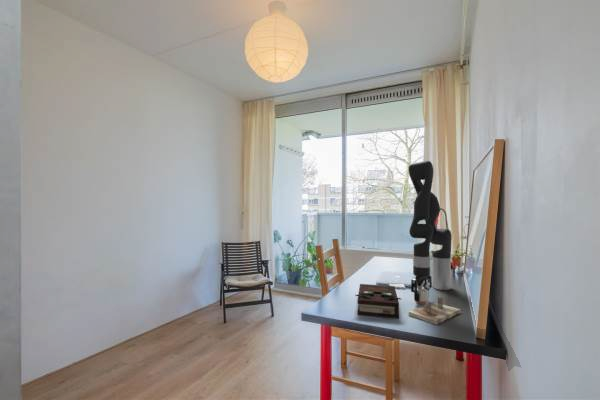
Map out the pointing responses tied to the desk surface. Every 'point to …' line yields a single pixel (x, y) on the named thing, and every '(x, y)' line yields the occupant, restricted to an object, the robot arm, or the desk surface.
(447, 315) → the pin board
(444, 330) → the desk surface
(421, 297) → the sleeve
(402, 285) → the hard drive
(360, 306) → the decorative book
